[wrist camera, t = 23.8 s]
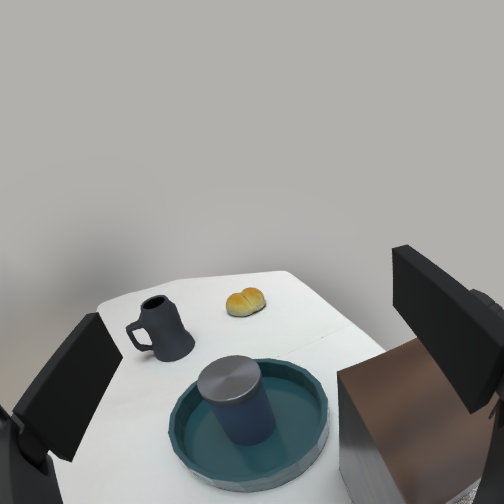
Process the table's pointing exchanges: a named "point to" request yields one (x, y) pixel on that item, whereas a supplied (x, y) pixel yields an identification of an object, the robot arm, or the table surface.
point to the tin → (238, 399)
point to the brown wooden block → (408, 431)
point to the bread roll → (245, 302)
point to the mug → (162, 330)
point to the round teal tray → (265, 453)
